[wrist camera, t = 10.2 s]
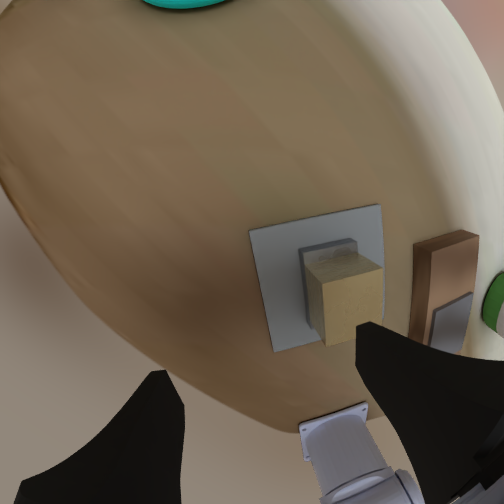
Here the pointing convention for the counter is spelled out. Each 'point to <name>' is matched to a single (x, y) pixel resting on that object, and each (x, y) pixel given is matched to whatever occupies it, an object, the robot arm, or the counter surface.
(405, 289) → the counter surface
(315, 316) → the tan small block
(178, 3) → the turquoise yoyo
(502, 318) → the wine bottle
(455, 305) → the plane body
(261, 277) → the slate mat
